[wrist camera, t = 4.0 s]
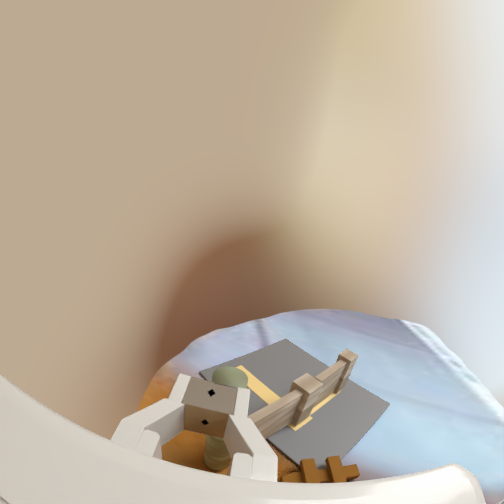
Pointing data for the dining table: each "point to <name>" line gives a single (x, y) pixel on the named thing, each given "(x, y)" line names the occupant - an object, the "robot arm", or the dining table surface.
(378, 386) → the dining table surface
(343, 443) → the board
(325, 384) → the fixed fence section
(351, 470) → the decorative fence
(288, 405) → the swinging fence section
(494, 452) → the dining table surface
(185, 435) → the dining table surface
